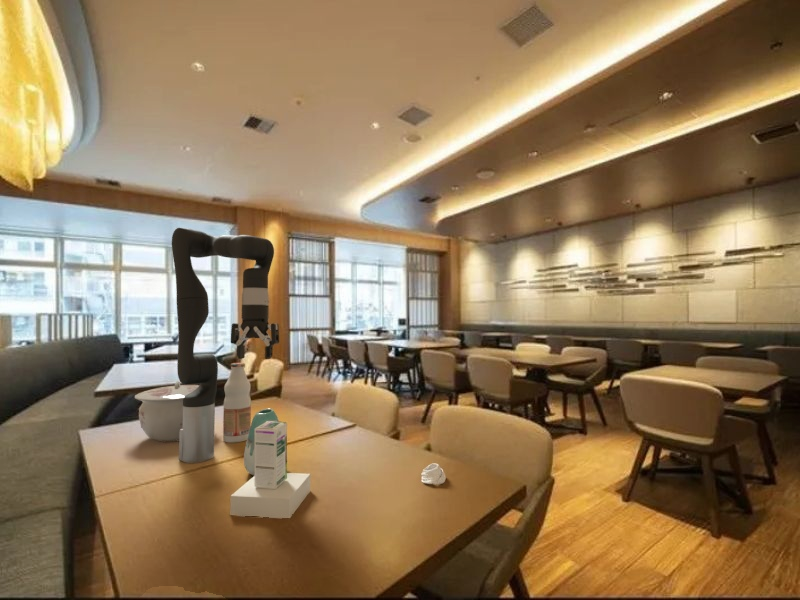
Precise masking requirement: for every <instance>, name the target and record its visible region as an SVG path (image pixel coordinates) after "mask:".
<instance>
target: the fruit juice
mask: <svg viewBox="0 0 800 600" xmlns="http://www.w3.org/2000/svg"><path fill="white" fill-rule="evenodd" d="M245 367H246V363H245V362H233V363H230V369H231V371H230V373H229V376H228V378H227V380H226V383H225V384H224V387H223V389H224V394H225V397H224V400H223V419H222V420H223V423H222V424H223V427H222V428H223V429H222V430H223V431H222V433H223V434H222V439H223V442H226V443H231V444H233V443H234V444H235V443H241V442H244V441H247V439H248V436H249V432H250V428H251V424H252V418H251V417H252V416H251V415H252V413H251V412H252V411H251V410H252V408H251V407H252V400H251V396H250V392H251V386H252V385H251V382H250V381H249V379H248V377H247V374H246V371H245Z"/></svg>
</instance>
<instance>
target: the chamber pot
mask: <svg viewBox="0 0 800 600" xmlns="http://www.w3.org/2000/svg"><path fill="white" fill-rule="evenodd" d="M199 385H200V384H199ZM199 385H198V384H189V385H184V384H181V382H180V381H176V382H175V383H174V385H167V386H161V387H156V388H152V389H149V390H145V391H141V392H139V393H137V394H135V395H134V399H135V400H138V401H141V405H140V406H139V408H138V419H139V423H140V428H141V430H142V431H143V432H144V433H145V435H146V436H147V437H148V438H149V439H151V440H153V441H156V442H157V441H158V442H163V441H169V442H178V441H179V431H180V430H181V429H182V427H183V398H184V397H185V396H186V395H188V394H189V393H191V392H193V391H194V390H196V389H197V388H198V387H199ZM177 440H178V441H177Z"/></svg>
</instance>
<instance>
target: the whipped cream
mask: <svg viewBox="0 0 800 600" xmlns="http://www.w3.org/2000/svg"><path fill="white" fill-rule="evenodd" d="M420 475H421V483H423V484H428V485H433V484H435V485H442V484H444V483H445V482H446V473H445V471H444V469H443V468H441V467H440V464H438V463H435V462H433V463H430V464H429V465H428V466H426V467H425V468H424V469H422V472H421V474H420Z"/></svg>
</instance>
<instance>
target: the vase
mask: <svg viewBox="0 0 800 600" xmlns="http://www.w3.org/2000/svg"><path fill="white" fill-rule="evenodd" d="M266 421H280V420H279V417H278V415H277V413H276V411H275V410H274V409H272V408H264V409H260V410H259V411H257V412H256V413H254V416H253V417H252V419H251V428H250V432H249V436H248V439H247V440H246V443H245V448H244V453H243V464H244V468H245V469H246V471H247V472H248V473H249V474H250V475H252V476H253V477H254V476H255V475H254V474H255V463H254V429H255V428H256V427H258V426H260V425H262V424H264V423H265V422H266Z"/></svg>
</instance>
